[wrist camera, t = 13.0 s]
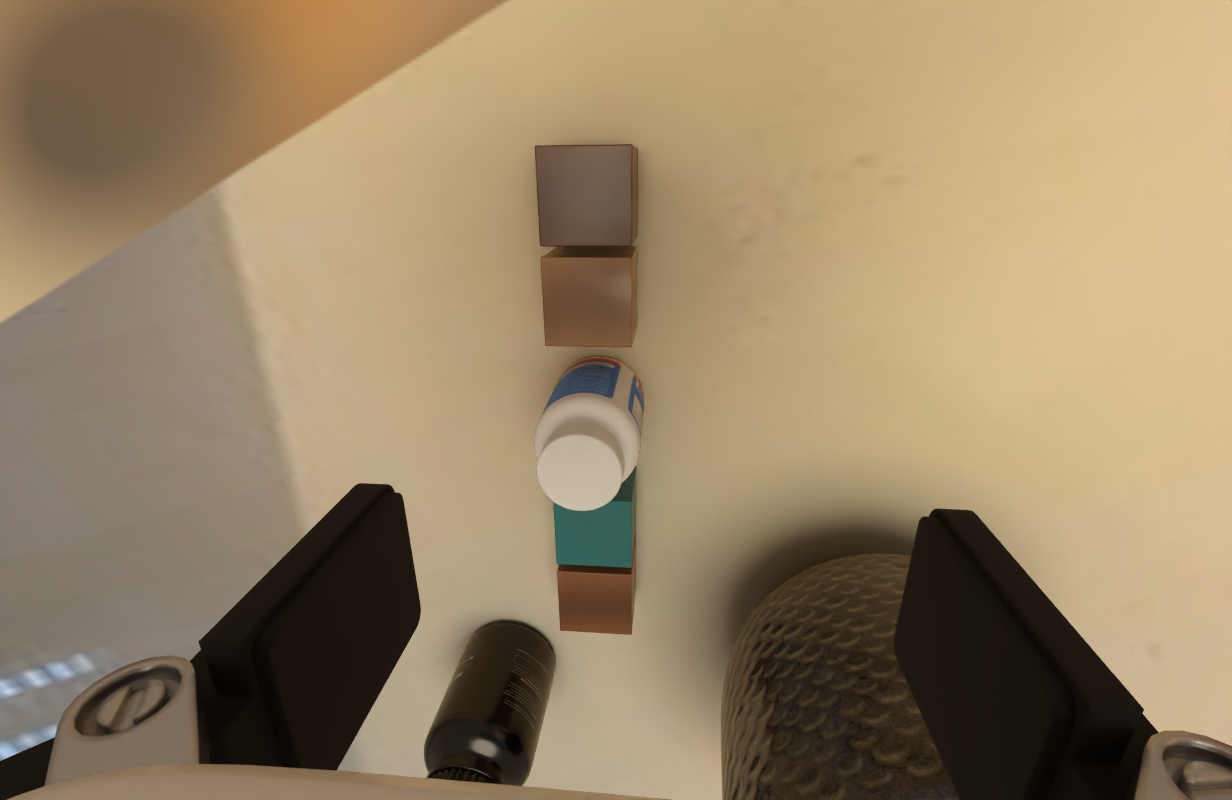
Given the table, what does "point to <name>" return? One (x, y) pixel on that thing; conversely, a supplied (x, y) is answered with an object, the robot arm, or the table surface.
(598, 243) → the block
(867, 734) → the planter
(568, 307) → the block
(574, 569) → the block
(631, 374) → the pill bottle
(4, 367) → the table surface
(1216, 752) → the robot arm
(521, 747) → the supplement bottle
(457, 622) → the table surface
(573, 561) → the block
